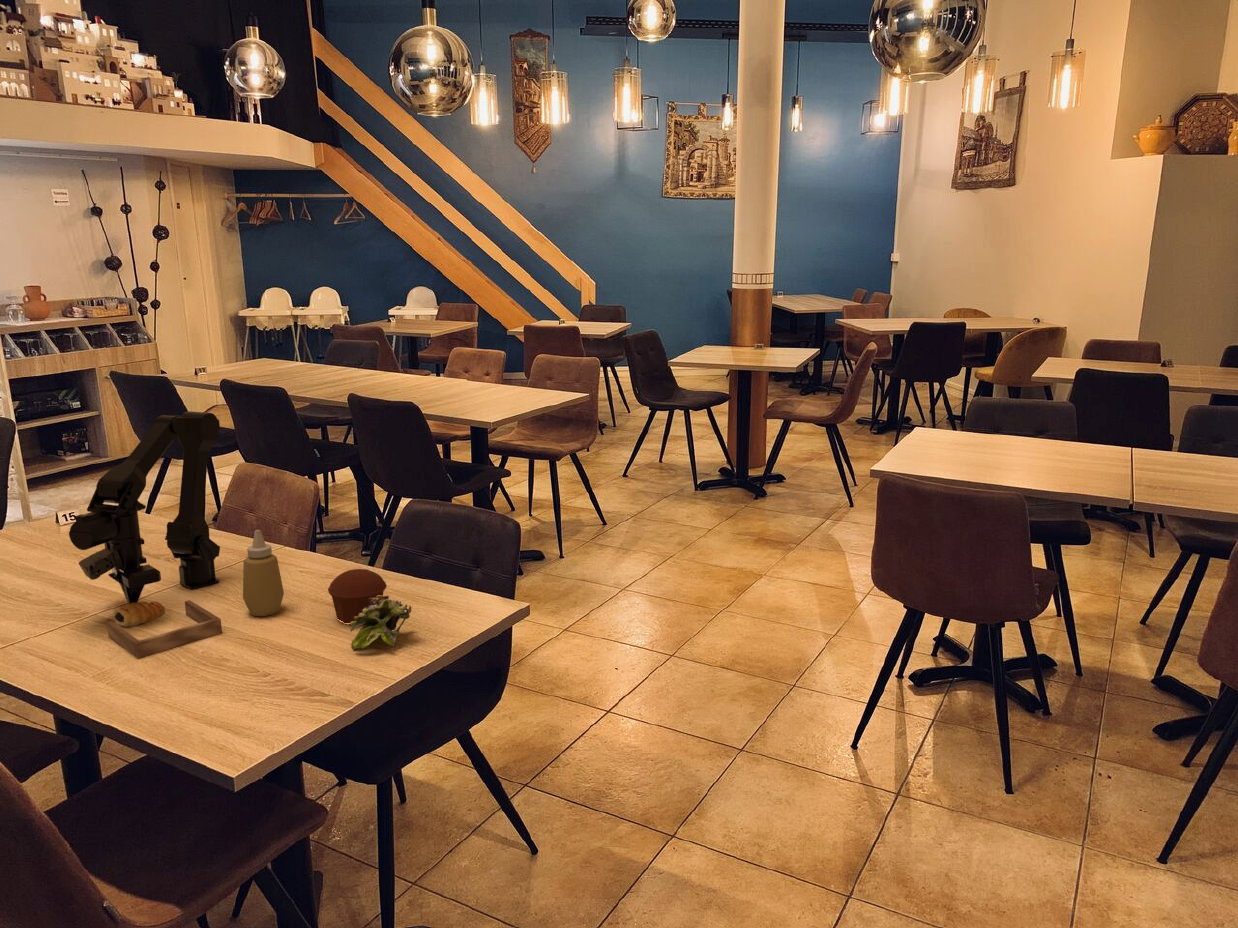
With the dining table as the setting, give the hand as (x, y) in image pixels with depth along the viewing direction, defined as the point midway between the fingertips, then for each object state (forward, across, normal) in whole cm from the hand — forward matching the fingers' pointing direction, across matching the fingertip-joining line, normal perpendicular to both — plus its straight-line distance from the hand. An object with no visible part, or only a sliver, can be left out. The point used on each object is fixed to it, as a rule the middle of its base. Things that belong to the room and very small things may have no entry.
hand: (132, 606), depth 188 cm
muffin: (+2, +36, +32) cm, 48 cm away
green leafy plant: (+2, +51, +28) cm, 58 cm away
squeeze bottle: (+2, +19, +19) cm, 27 cm away
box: (+2, +15, 0) cm, 15 cm away
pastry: (+2, +4, 0) cm, 4 cm away
